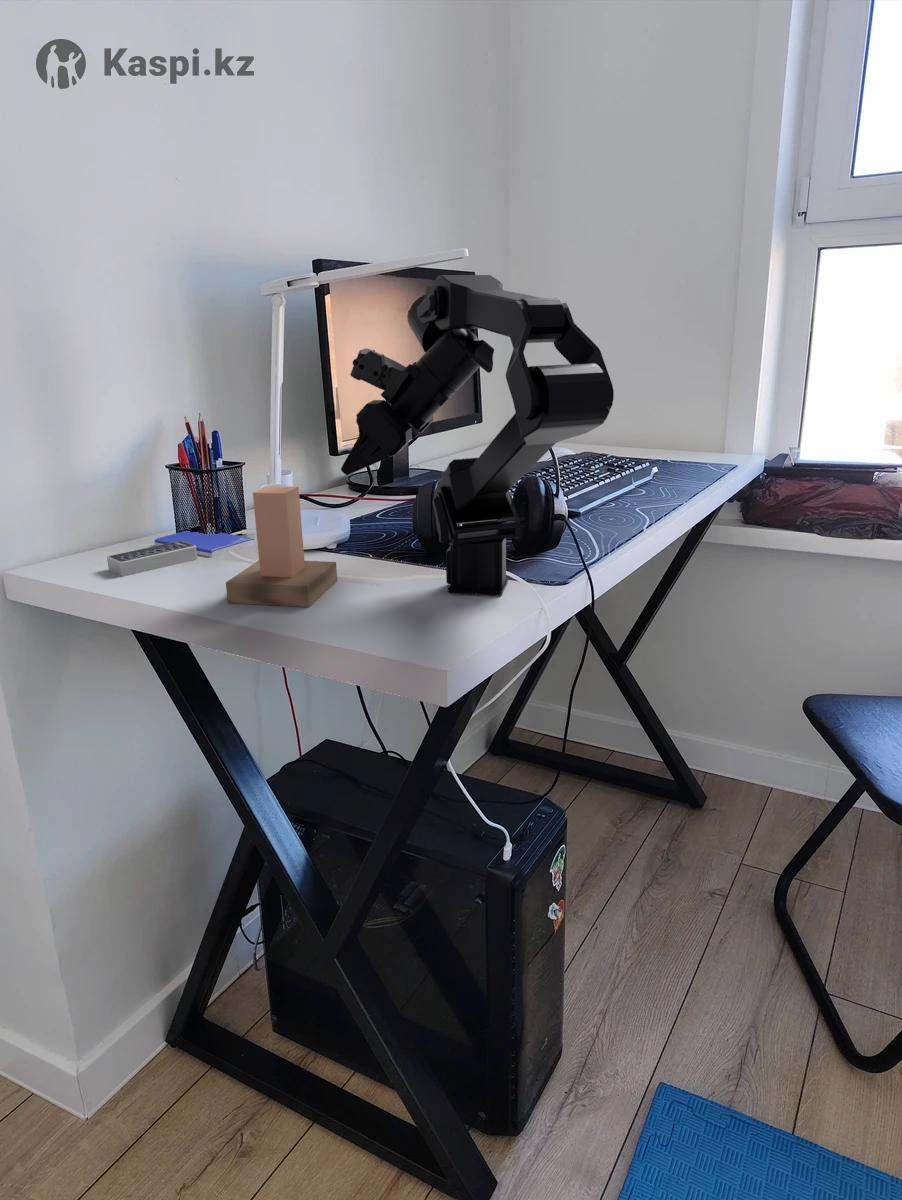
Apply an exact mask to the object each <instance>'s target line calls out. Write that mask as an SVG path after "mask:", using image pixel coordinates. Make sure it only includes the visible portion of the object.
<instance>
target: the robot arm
mask: <svg viewBox="0 0 902 1200" xmlns="http://www.w3.org/2000/svg"><path fill="white" fill-rule="evenodd" d="M434 283H435V285H428V286H426V288H425V294H424V295H422V296H419V297H418V298H417V299H416V300H414V302H413V303H412V304H411V306H410V308H409V309H408V310H407V314H406V315H407V316H406V317H407V322H408V323H407V324H408V326H409V327H410V329H411V331H412V333H413V335H414V336H415V338H416V340H417V341H418V343H419V345H420V346H421V348H422V350H423V351H424V354H423V355H422V356H421V357H419V359H418V360H417V361H415V362H413V363H412V364H411V363H410V364H408V365H407V366H405V365H403V364H401V363H399V362H398V361H396V360H394V359H392V358H390V357H387V356H385V354H383V353H382V354H381V353H380V352H377V351H376V350H375V349H370V348H362V349H360V350H359V351H358V353H357V356H356V358H354V359H353V360H352V369H351V371H350V373H349V374H350V376H351V377H352V378H353V379H355V380H357V381H362V382H365V383H367V384H370V385H372V386H373V387H375V388H378V389H380V390H381V391H382V390H383V391H382V393H380V396H381V397H382V398H383V399H372V400H371V401H369V402H367V403H366V404H365V405H364V406H363V407H362V408H361V409H360V410H359V411H358V412H357V414H355V416H356V421H355V422H356V424H357V426H358V437H357V439H356V441H355V443H354V444H353V447H352V448H351V449H350V451H349V453H348V455H347V456H346V459H345V461H344V462H343V463H342V466H341V467H340V471H341V472H342V473H343V474H344V475H345V476H349V475H352V474H353V473H356V472H358V471H360V470H363V469H365V468H367V467H370V466H372V465H374V464H377V463H379V462H381V461H382V462H383V461H385V460H386V459H389V458H391V457H393V456H395V455H397V454H398V453H400V451H401V450H402V449H403V448H404V447H405V446H406V445H407V444H408V443H409V442H410V441H411V440H412V439H415V438H416V437H418V436H419V435H420V434H422V432H424V431H425V430H426V429H427V428H428V427H429V426H430V424H431V423H433V422H434V415H435V414H436V413H438V411H439V410H440V409H441V408H442V407H443V406H444V405H445V404H446V403H447V402H449V401H450V400H451V398H452V397H454V394H456V392H457V391H459V390H460V388H461V387H462V386H463V385H464V384H465V383H466V382H467V381H468V380H469V379H470V378H471V376H473V374H475V373H476V371H477V370H478V369H479V368H481V369H482V370H484V371H485V372H487V373H491V372H492V371H493V367H494V353H495V348H494V347H492V346H491V345H490V344H489V343H488V342H486V340H485V339H481V340H480V339H479V338H478V337H477V335H476V333H474V332H472V331H471V330H475V329H481V330H482V329H483V330H485V331H489V332H492V333H495V334H498V335H502V336H505V337H507V338H510V341H511V345H512V353H511V354H510V359H509V363H508V365H507V368H506V371H505V379H506V382H507V385H508V389H509V392H510V396H511V399H512V402H513V407H514V411H515V413H514V414H513V415H512V417H511V418H510V419H509V420H508V421H507V422H506V424H505V425H504V426H503V427H502V429H501V430H500V431H499V432H498V433H497V434H496V435H495V437H494V438H493V439H492V441H491V442H490V443H489V445H487V447H486V448H485V449H484V451H483V452H482V453H481V454H480V455H479V456H478V457H469V458H467V457H466V458H458V459H453V460H451V461H450V462H449V463H448V465H447V466H446V469H445V470H444V471H440V474H441V476H442V477H441V478H440V479H439V482H438V485H437V487H435V489H434V493H433V498H432V506H433V507H432V508H433V511H434V516H435V517H434V518H435V523H436V531H437V534H438V539H439V540H438V541H439V542H440V544H449V547H448V549H447V550H446V551H445V571H446V572H445V575H446V576H445V577H446V584H447V585H449V586H448V587H447V593H448V594H461V595H462V594H463V595H482V596H483V595H485V596H502V595H503V593H504V591H505V589H506V586H507V584H508V582H509V579H510V578H509V576H508V575H507V539H518V538H519V535H520V534H519V533H520V528H521V521H520V518H519V515H518V513H517V510H516V507H515V505H514V501H513V499H512V497H511V494H510V493H511V492H510V489H512V488H513V486H514V485H516V484H517V483H518V482H519V481H520V479H522V478H523V476H525V474H527V473H528V471H530V469H532V467H534V466H535V465H536V464H537V463H538V462H539V461H540V460H541V459H542V458H543V457H544V455H546V454H547V453H548V452H549V451H550V449H552V448H553V446H555V445H556V444H557V443H559V442H562V441H565V440H568V439H571V438H575V437H578V436H579V437H580V436H582V435H586V434H588V433H589V432H591V431H593V430H595V429H597V428H598V427H600V426H602V425H603V424H604V423H605V421H606V420H607V418H608V416H609V414H610V412H611V408H612V406H613V402H614V399H615V397H614V392H615V391H614V387H613V382H612V380H611V377H610V375H609V372H608V369H607V365H606V363H605V360H604V357H603V354H602V352H601V349H600V348H599V346H597V345H596V344H595V342H593V340H592V339H591V338H590V337H589V336H588V335H586V333H585V332H584V331H583V330H582V329H580V327H579V326H578V325H577V324H575V322H574V320H573V319H574V318H573V316H572V313H571V310H570V307H569V305H568V304H567V302H566V301H564V300H562V299H561V300H560V299H559V298H557V297H540V296H536V295H530V294H524V293H520V292H519V293H518V292H513V291H508V290H504V288H503V286H504V284H503V282H501V281H500V280H499V279H497V278H496V277H494V276H493V275H490V274H460V275H459V274H457V275H456V274H453V275H451V274H448V275H447V274H443V275H442V274H441V275H438V276H437V277H436V278H435V282H434ZM535 343H536V344H537V343H539V344H540V343H541V344H542V343H553V345H554V347H555V349H556V350H557V352H559V354H561V356H563V358H565V360H566V361H567V362H568V363H569V364H551V365H550V364H549V365H531V366H529V365H528V362H527V360H526V357H525V354H524V352H525V349H526V345H527V344H535ZM490 521H492V522H490ZM482 522H485V523H482ZM473 523H475V524H473ZM462 524H464V525H462Z"/></svg>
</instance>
